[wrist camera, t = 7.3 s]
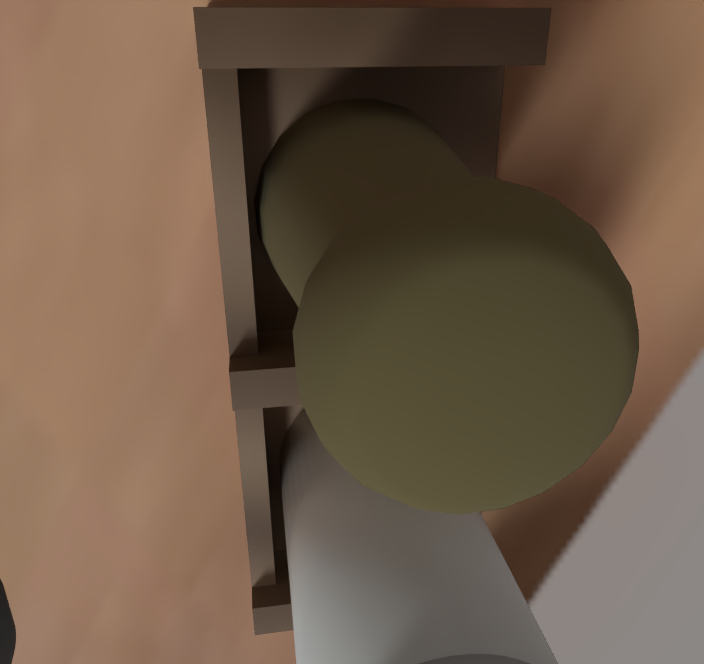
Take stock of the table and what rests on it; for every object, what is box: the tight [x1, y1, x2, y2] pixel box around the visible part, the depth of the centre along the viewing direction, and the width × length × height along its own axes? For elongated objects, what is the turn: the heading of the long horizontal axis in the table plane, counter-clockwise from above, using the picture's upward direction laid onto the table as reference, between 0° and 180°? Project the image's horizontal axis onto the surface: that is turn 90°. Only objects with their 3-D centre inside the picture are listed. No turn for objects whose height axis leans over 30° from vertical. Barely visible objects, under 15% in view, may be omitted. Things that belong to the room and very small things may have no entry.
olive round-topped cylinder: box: [254, 98, 639, 515], centre depth 13 cm, size 6×6×11 cm
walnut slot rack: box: [193, 7, 551, 635], centre depth 19 cm, size 19×8×3 cm, turn 0°
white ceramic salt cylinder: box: [279, 409, 558, 664], centre depth 17 cm, size 6×6×11 cm
